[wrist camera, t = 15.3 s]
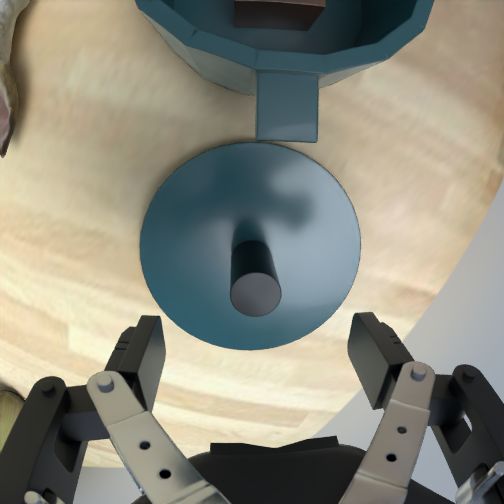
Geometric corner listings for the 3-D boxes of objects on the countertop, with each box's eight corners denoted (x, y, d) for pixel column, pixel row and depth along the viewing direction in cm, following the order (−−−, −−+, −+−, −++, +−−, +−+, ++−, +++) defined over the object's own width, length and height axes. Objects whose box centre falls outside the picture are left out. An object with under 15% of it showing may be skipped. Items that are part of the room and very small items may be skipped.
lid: (363, 147, 19) (407, 155, 14) (341, 337, 25) (364, 387, 19) (137, 145, 19) (100, 151, 13) (157, 339, 24) (139, 392, 18)
